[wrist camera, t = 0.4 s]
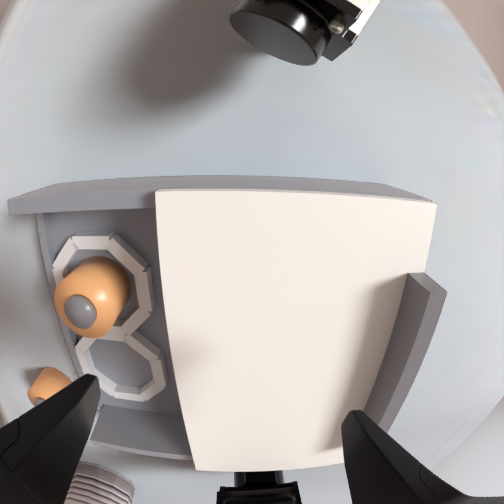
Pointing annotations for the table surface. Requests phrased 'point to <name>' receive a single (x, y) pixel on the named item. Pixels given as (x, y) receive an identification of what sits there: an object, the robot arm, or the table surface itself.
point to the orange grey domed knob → (92, 296)
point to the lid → (292, 317)
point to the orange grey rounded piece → (47, 385)
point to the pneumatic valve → (302, 26)
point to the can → (99, 486)
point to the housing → (136, 293)
